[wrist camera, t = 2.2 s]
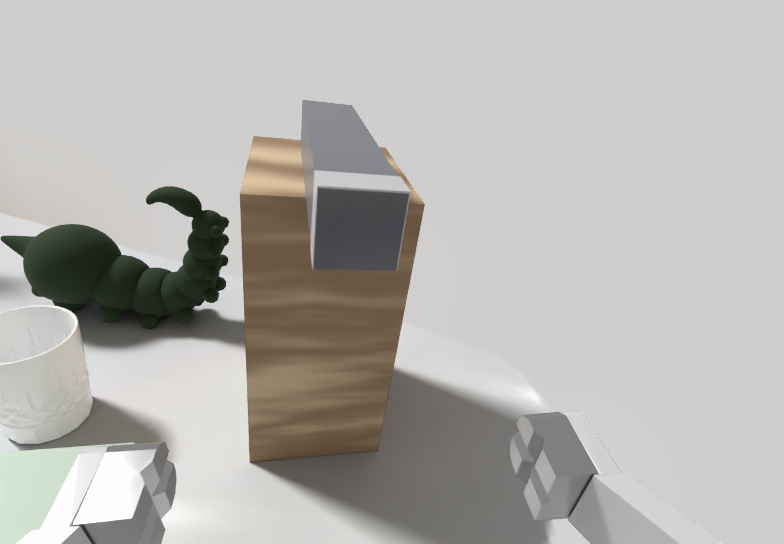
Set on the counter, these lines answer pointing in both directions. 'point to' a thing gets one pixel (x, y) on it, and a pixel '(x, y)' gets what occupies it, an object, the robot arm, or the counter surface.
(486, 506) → the counter surface
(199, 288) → the toy figurine
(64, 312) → the white cup
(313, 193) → the bar
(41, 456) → the green platform
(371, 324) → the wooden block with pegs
